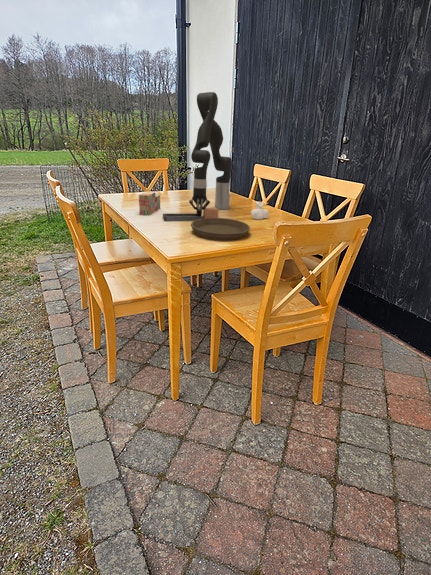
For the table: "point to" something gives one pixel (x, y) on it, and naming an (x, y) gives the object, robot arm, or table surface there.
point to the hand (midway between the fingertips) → (198, 216)
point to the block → (210, 213)
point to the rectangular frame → (181, 217)
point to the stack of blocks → (149, 203)
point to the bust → (259, 211)
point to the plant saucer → (220, 228)
